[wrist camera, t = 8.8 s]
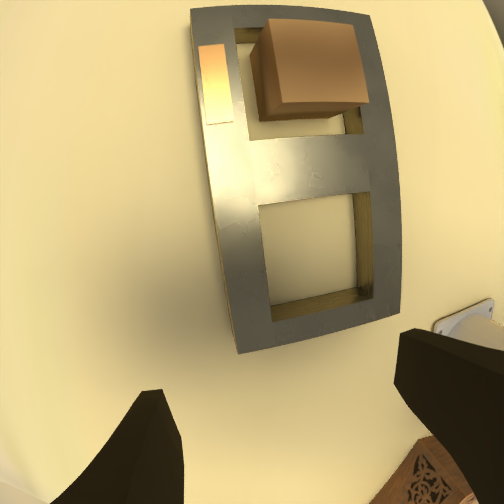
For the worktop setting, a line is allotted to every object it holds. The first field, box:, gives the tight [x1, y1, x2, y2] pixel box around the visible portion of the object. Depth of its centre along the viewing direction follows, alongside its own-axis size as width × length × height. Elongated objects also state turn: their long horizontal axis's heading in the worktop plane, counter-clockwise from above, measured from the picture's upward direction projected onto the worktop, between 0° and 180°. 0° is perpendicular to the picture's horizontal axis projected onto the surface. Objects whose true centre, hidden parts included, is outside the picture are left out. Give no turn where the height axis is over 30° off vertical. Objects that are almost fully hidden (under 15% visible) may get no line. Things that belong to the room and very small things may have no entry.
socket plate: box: [190, 5, 402, 354], centre depth 15 cm, size 18×10×2 cm, turn 8°
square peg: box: [250, 19, 369, 122], centre depth 13 cm, size 4×4×4 cm
